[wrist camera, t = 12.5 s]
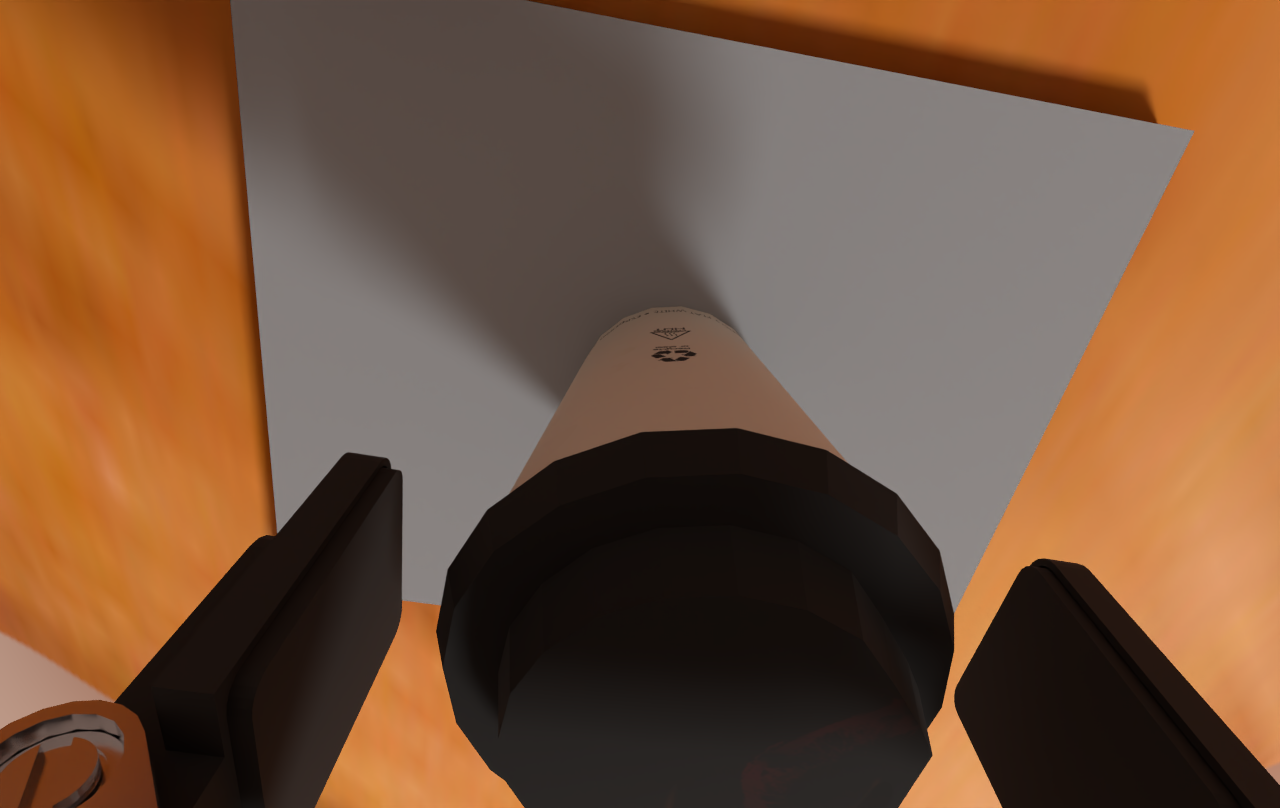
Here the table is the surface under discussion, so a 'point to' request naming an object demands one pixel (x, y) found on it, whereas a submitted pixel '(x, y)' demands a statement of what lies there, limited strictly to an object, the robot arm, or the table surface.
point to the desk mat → (659, 246)
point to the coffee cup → (695, 597)
